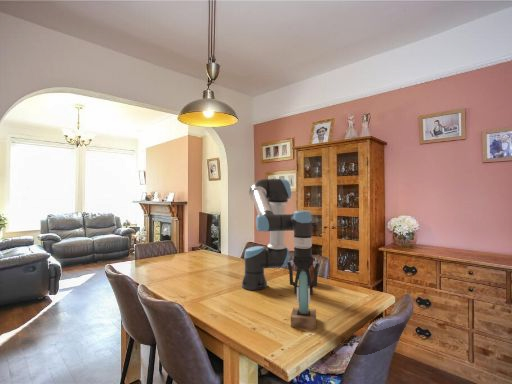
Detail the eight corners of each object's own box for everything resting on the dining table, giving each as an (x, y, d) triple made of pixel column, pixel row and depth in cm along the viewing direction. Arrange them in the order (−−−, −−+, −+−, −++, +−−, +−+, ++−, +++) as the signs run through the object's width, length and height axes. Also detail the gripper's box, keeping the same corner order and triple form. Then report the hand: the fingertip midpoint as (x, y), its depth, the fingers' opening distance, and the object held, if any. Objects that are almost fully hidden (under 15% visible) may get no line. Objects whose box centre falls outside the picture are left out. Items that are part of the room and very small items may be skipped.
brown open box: (290, 326, 112) (290, 317, 112) (293, 316, 121) (293, 307, 121) (315, 329, 109) (315, 319, 109) (316, 318, 119) (316, 309, 119)
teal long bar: (298, 313, 114) (298, 270, 114) (299, 309, 118) (298, 268, 118) (308, 314, 113) (307, 271, 113) (308, 310, 117) (308, 268, 117)
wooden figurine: (304, 286, 163) (304, 256, 164) (297, 283, 168) (296, 254, 169) (318, 282, 170) (317, 253, 170) (310, 280, 175) (310, 252, 175)
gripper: (281, 247, 115) (282, 303, 114) (323, 249, 111) (324, 307, 110) (284, 244, 122) (284, 297, 121) (323, 246, 118) (324, 300, 117)
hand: (303, 302), depth 116 cm, fingers closed on teal long bar, 4 cm apart
